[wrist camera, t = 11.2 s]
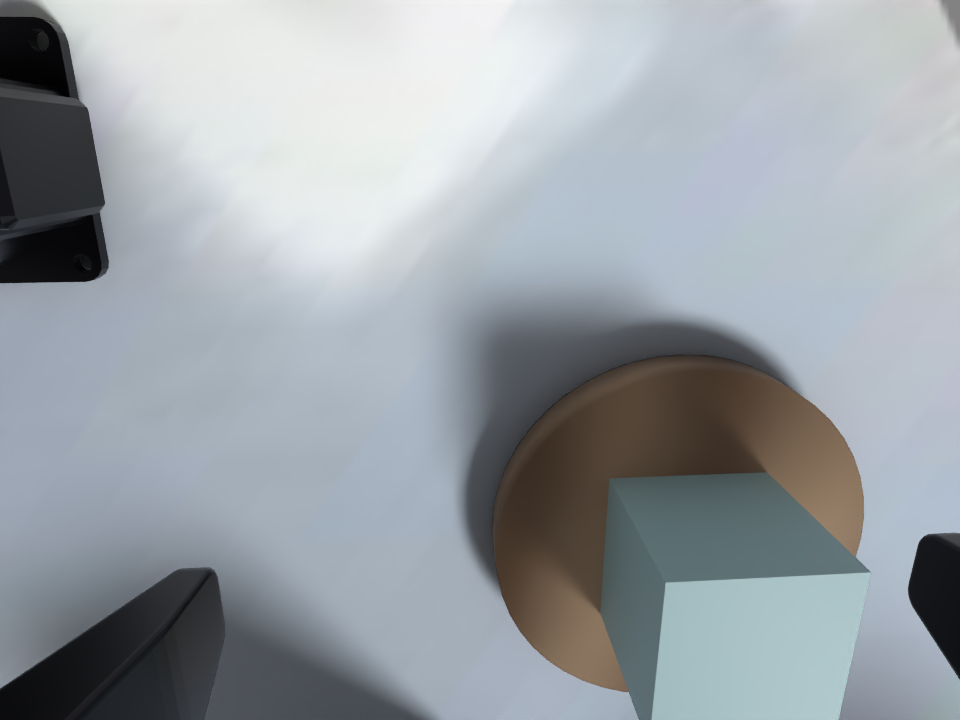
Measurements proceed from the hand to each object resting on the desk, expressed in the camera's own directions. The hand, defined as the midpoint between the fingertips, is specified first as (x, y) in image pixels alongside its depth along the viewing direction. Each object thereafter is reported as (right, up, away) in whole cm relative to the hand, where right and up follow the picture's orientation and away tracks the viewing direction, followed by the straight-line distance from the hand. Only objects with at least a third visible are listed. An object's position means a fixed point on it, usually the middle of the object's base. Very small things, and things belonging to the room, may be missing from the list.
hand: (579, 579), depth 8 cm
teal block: (+5, -3, +13) cm, 14 cm away
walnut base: (+5, -3, +14) cm, 15 cm away
